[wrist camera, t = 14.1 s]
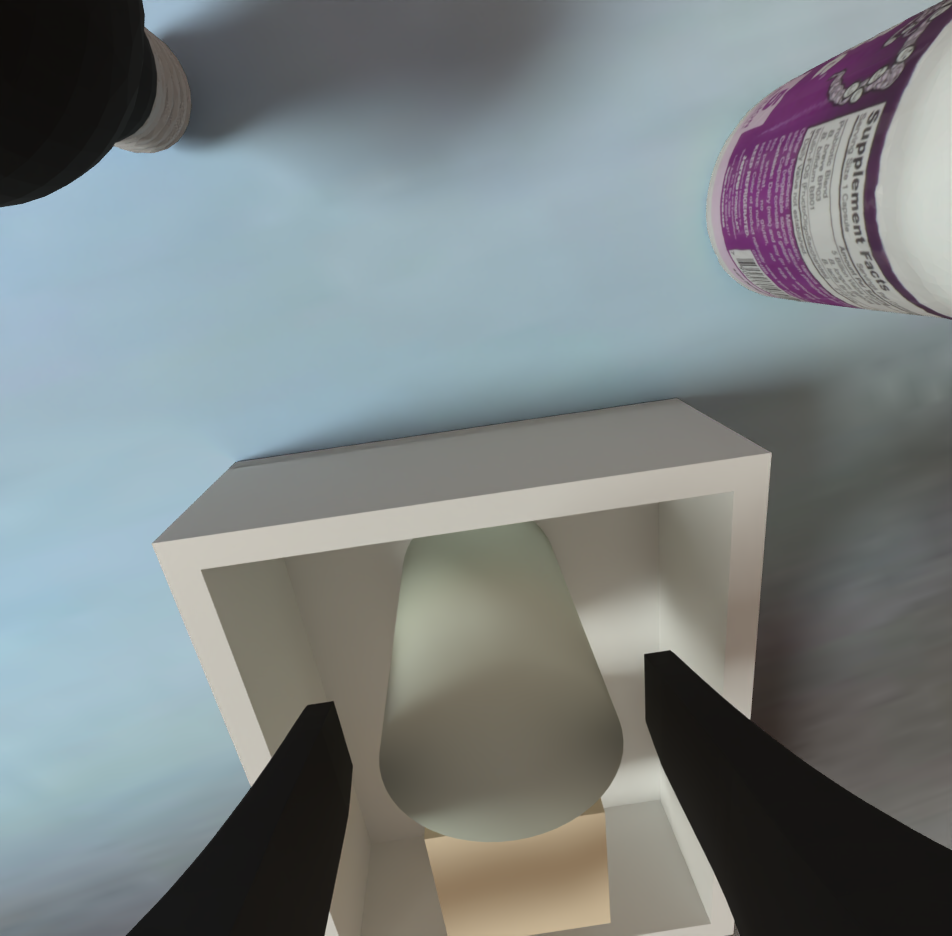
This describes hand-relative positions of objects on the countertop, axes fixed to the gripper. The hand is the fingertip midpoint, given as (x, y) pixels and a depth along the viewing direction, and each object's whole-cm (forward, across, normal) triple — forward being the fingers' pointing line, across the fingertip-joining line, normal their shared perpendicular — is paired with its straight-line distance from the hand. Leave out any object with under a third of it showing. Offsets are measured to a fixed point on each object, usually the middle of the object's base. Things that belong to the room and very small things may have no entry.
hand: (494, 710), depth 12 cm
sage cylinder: (+6, 0, 0) cm, 6 cm away
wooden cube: (+6, 0, +7) cm, 9 cm away
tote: (+6, 0, +4) cm, 7 cm away
